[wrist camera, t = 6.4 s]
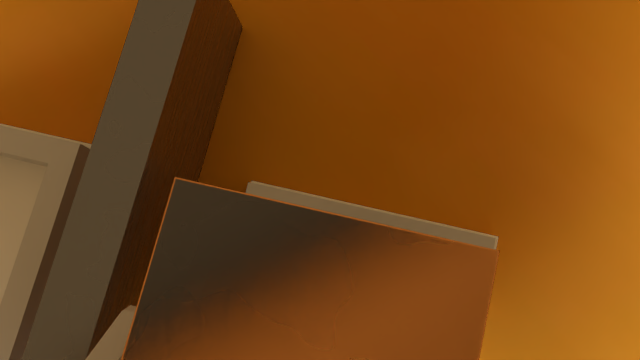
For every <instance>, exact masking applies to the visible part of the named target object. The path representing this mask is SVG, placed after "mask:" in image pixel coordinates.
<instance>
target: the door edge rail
mask: <svg viewBox="0 0 640 360" xmlns="http://www.w3.org/2000/svg"><path fill="white" fill-rule="evenodd" d="M241 30H242V25H241V23H240V21H239V19H238V17H237V15H236V13H235V11H234V9H233V7H232V5H231V3H230V1H229V0H139V1H138V4H137V7H136V10H135V14H134V17H133V20H132V23H131V26H130V29H129V32H128V35H127V38H126V41H125V44H124V47H123V50H122V53H121V56H120V59H119V62H118V66H117V69H116V72H115V75H114V78H113V81H112V84H111V87H110V90H109V93H108V96H107V99H106V102H105V105H104V108H103V111H102V115H101V118H100V121H99V124H98V127H97V130H96V133H95V136H94V139H93V142H92V145H91V148H90V151H89V154H88V157H87V160H86V163H85V167H84V170H83V173H82V176H81V179H80V182H79V185H78V188H77V191H76V194H75V197H74V200H73V203H72V206H71V209H70V212H69V216H68V219H67V222H66V225H65V228H64V231H63V234H62V237H61V240H60V243H59V246H58V249H57V252H56V255H55V258H54V261H53V264H52V268H51V271H50V274H49V277H48V280H47V283H46V286H45V289H44V292H43V295H42V298H41V301H40V304H39V307H38V310H37V313H36V316H35V320H34V323H33V326H32V329H31V332H30V335H29V338H28V341H27V344H26V347H25V350H24V353H23V356H22V359H21V360H86V358H87V357H88V356H89V354H90V353H91V352H92V350H93V349H94V348H95V346H96V345H97V344H98V342H99V341H100V340H101V338H102V337H103V336H104V334H105V333H106V331H107V330H108V329H109V327H110V326H111V325H112V323H113V322H114V321H115V319H116V318H117V317H118V315H119V314H120V313H121V311H123V310H124V309H125V308H127V307H128V306H130V305H132V306H136V307H137V303H138V300H139V297H140V293H141V290H142V286H143V283H144V280H145V276H146V273H147V270H148V266H149V263H150V259H151V256H152V253H153V249H154V246H155V242H156V239H157V236H158V232H159V229H160V226H161V222H162V219H163V215H164V212H165V209H166V205H167V202H168V198H169V195H170V192H171V188H172V185H173V182H174V178H175V177H177V178H182V179H186V180H191V181H195V182H198V178H199V175H200V171H201V168H202V164H203V161H204V158H205V154H206V151H207V147H208V144H209V140H210V137H211V133H212V130H213V127H214V123H215V120H216V116H217V113H218V109H219V106H220V102H221V99H222V96H223V92H224V89H225V85H226V82H227V78H228V75H229V71H230V68H231V65H232V61H233V58H234V54H235V51H236V47H237V44H238V40H239V37H240V34H241Z"/></svg>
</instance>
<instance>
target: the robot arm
mask: <svg viewBox="0 0 640 360" xmlns="http://www.w3.org/2000/svg"><path fill="white" fill-rule="evenodd" d="M135 310H136V306H132V305H130V306H128V307H127V308H125V309H124V310H123V311H121V313H120V314H119V315H118V317H117V318H116V319H115V321H114V322H113V323H112V325H111V326H110V327H109V329H108V330H107V331H106V333H105V334H104V336H103V337H102V338H101V340H100V341H99V342H98V344H97V345H96V346H95V348H94V349H93V350H92V352H91V353H90V354H89V356H88V357H87V358H86V360H121V357H122V354H123V351H124V347H125V344H126V341H127V337H128V334H129V330H130V327H131V324H132V320H133V317H134V313H135Z"/></svg>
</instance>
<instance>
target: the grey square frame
mask: <svg viewBox="0 0 640 360" xmlns="http://www.w3.org/2000/svg"><path fill="white" fill-rule="evenodd" d="M246 193H248V194H252V195H257V196H261V197H266V198H270V199H274V200H279V201H283V202H288V203H292V204H296V205H301V206H305V207H310V208H314V209H318V210H323V211H327V212H332V213H336V214H341V215H345V216H349V217H354V218H358V219H363V220H367V221H371V222H376V223H380V224H385V225H389V226H393V227H398V228H402V229H407V230H411V231H415V232H420V233H424V234H429V235H433V236H437V237H442V238H446V239H451V240H455V241H460V242H464V243H468V244H473V245H477V246H482V247H486V248H490V249H495V250H496V248H497V243H498V236H494V235H490V234H485V233H481V232H476V231H472V230H468V229H463V228H459V227H454V226H450V225H446V224H441V223H437V222H432V221H428V220H424V219H419V218H415V217H410V216H406V215H402V214H397V213H393V212H388V211H384V210H379V209H375V208H371V207H366V206H362V205H357V204H353V203H349V202H344V201H340V200H335V199H331V198H327V197H322V196H318V195H313V194H309V193H305V192H300V191H296V190H291V189H287V188H283V187H278V186H274V185H269V184H265V183H261V182H256V181H251V182H248V185H247V189H246Z"/></svg>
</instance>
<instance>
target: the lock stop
mask: <svg viewBox="0 0 640 360" xmlns="http://www.w3.org/2000/svg"><path fill="white" fill-rule="evenodd" d="M498 256H499V250H495V249H490V248H486V247H482V246H477V245H473V244H468V243H464V242H460V241H455V240H451V239H446V238H442V237H437V236H433V235H429V234H424V233H420V232H415V231H411V230H407V229H402V228H398V227H393V226H389V225H385V224H380V223H376V222H371V221H367V220H363V219H358V218H354V217H349V216H345V215H341V214H336V213H332V212H327V211H323V210H318V209H314V208H310V207H305V206H301V205H296V204H292V203H288V202H283V201H279V200H274V199H270V198H266V197H261V196H257V195H252V194H248V193H244V192H239V191H235V190H230V189H226V188H222V187H217V186H213V185H208V184H204V183H199V182H195V181H191V180H186V179H182V178H177V177H175V178H174V182H173V185H172V188H171V192H170V195H169V198H168V202H167V205H166V209H165V212H164V215H163V219H162V222H161V226H160V229H159V232H158V236H157V239H156V242H155V246H154V249H153V253H152V256H151V259H150V263H149V266H148V270H147V273H146V276H145V280H144V283H143V286H142V290H141V293H140V297H139V300H138V303H137V307H136V310H135V313H134V317H133V320H132V324H131V327H130V330H129V334H128V337H127V341H126V344H125V347H124V351H123V354H122V357H121V360H479V357H480V351H481V346H482V341H483V336H484V330H485V325H486V320H487V314H488V309H489V304H490V299H491V293H492V288H493V283H494V277H495V272H496V267H497V262H498Z"/></svg>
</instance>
